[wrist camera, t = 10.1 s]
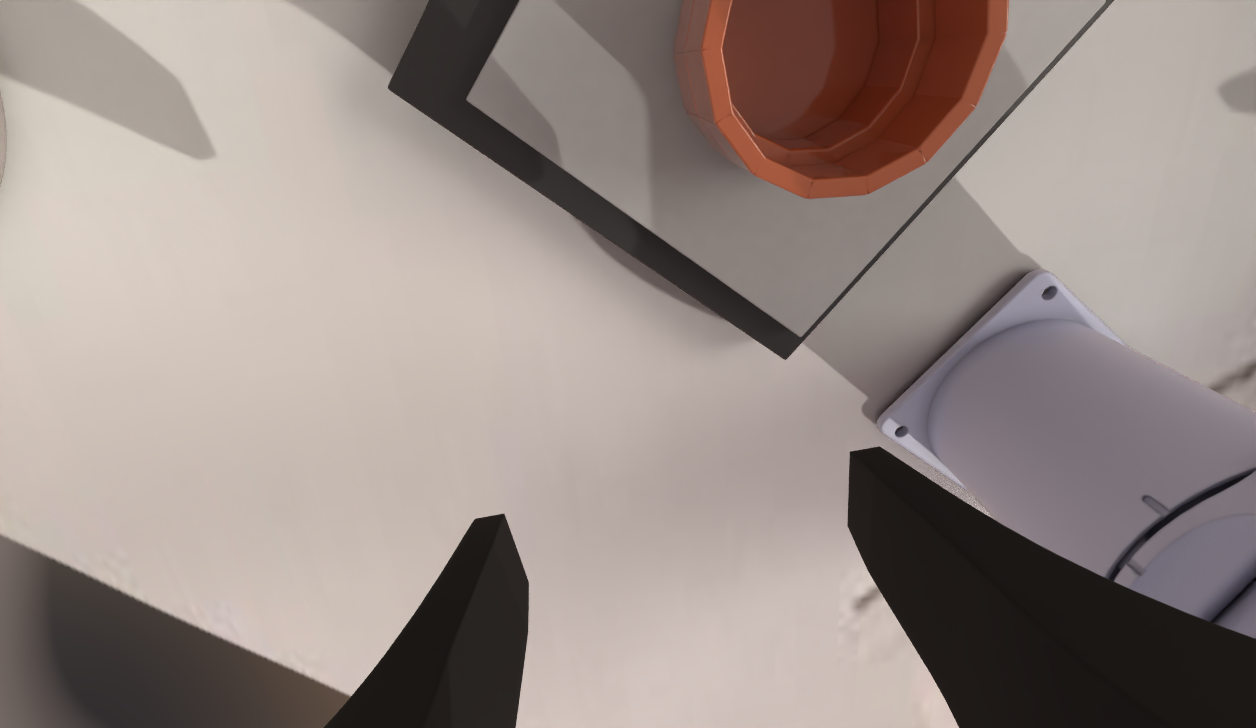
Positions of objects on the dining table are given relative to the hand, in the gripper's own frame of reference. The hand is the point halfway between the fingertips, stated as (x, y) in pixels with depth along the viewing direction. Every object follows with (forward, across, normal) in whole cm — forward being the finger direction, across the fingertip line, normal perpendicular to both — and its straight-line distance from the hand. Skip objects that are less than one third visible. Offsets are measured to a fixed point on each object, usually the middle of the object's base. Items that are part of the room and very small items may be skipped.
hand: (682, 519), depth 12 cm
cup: (+7, -5, -8) cm, 11 cm away
